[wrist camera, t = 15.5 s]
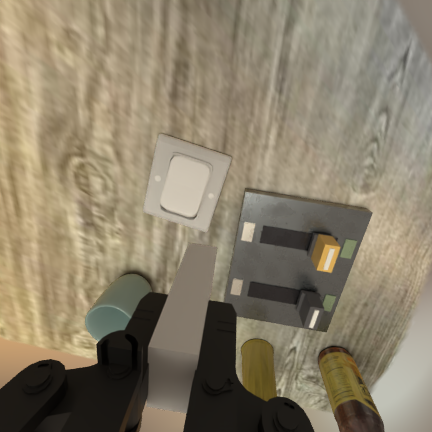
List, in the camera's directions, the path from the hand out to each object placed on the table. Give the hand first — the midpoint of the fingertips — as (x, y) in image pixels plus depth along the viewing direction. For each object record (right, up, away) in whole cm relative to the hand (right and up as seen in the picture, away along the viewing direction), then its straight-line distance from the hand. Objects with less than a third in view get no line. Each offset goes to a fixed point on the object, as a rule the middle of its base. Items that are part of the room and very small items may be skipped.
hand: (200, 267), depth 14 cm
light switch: (-4, +8, +27) cm, 28 cm away
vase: (+9, -23, +37) cm, 44 cm away
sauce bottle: (+23, -23, +35) cm, 48 cm away
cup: (-13, -10, +34) cm, 38 cm away
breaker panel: (+13, -5, +29) cm, 32 cm away
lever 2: (+16, -2, +25) cm, 30 cm away
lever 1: (+15, -11, +28) cm, 34 cm away
